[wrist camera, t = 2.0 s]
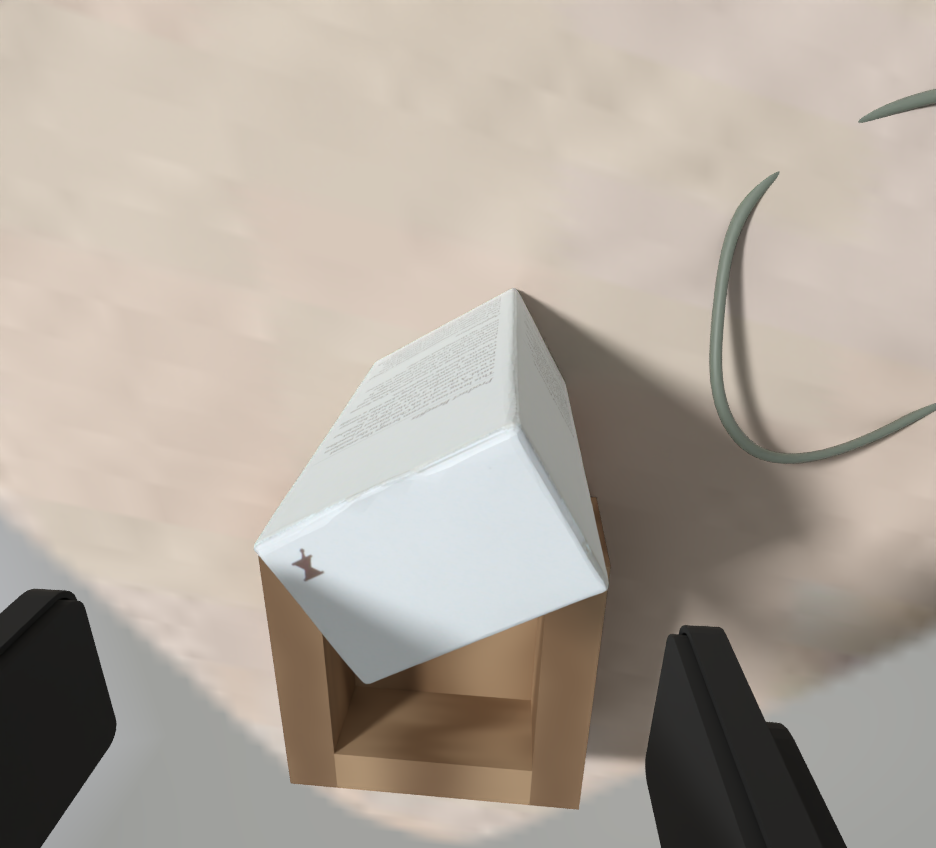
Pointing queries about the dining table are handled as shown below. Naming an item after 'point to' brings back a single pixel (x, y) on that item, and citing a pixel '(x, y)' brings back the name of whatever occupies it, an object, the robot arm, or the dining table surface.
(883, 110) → the loop
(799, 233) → the dining table surface
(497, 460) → the skincare box
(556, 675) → the holder
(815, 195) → the dining table surface
